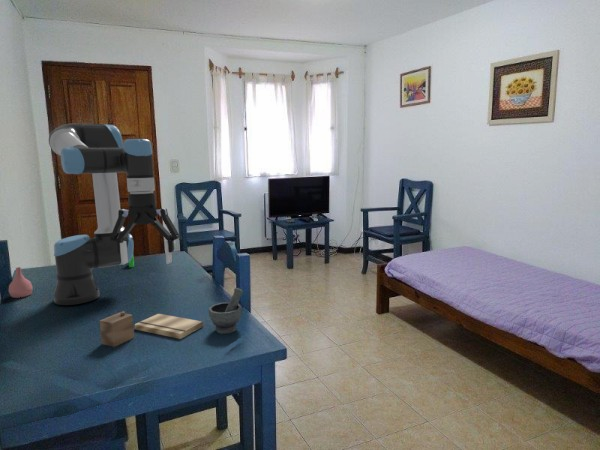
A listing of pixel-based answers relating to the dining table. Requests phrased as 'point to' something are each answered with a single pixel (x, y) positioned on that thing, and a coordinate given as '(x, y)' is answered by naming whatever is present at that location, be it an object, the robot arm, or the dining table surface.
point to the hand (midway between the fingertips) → (147, 263)
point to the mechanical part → (131, 262)
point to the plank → (169, 325)
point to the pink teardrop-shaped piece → (20, 285)
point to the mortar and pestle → (227, 313)
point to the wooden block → (116, 329)
